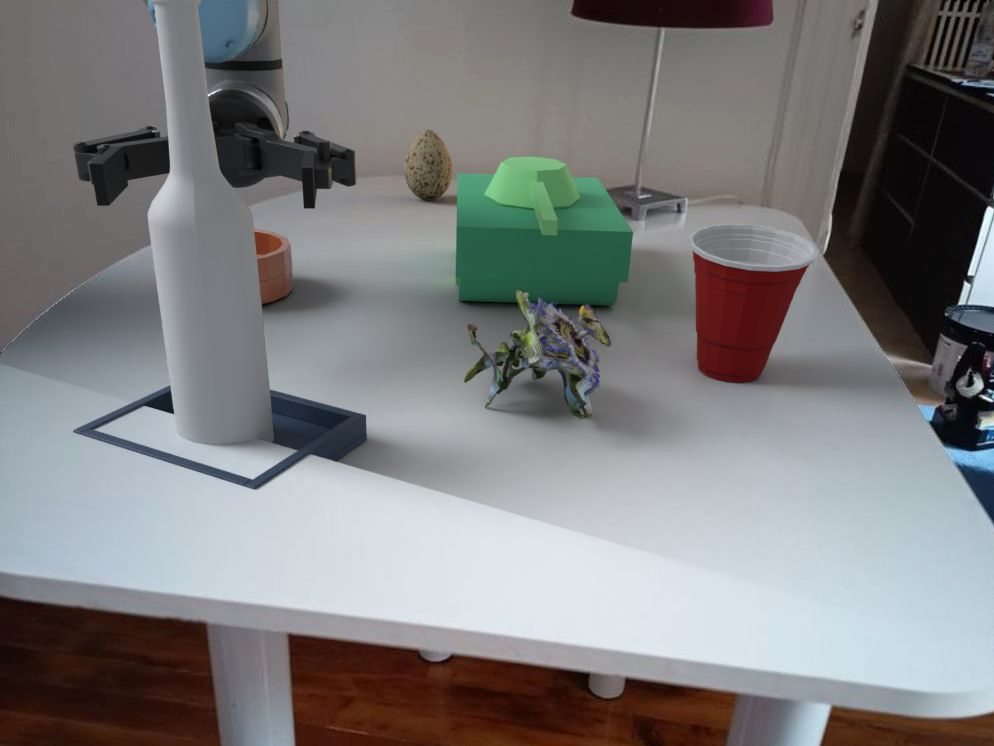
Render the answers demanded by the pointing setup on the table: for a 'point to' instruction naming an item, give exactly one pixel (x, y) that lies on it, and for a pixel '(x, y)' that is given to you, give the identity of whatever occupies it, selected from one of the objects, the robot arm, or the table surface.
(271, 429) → the bottle
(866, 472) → the table surface
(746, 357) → the plastic cup
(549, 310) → the passion flower
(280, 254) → the bowl
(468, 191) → the toy tank
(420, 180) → the decorative egg
